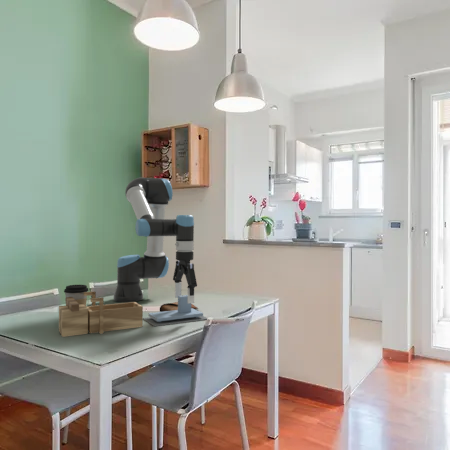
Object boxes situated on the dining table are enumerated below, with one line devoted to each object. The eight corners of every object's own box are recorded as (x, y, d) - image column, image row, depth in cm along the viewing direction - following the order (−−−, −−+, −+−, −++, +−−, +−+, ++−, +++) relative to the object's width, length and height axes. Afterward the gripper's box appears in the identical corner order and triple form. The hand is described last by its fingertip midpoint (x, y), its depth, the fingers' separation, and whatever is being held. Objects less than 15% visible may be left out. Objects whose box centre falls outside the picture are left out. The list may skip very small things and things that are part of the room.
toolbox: (57, 328, 152) (58, 294, 152) (133, 319, 167) (133, 288, 166) (63, 338, 139) (63, 301, 139) (144, 328, 153) (144, 294, 153)
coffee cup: (67, 320, 165) (68, 284, 165) (91, 319, 166) (91, 284, 166) (60, 326, 155) (60, 288, 155) (85, 325, 156) (85, 288, 156)
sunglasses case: (172, 314, 172) (167, 300, 174) (163, 321, 176) (157, 307, 178) (200, 308, 186) (194, 295, 188) (190, 314, 190) (185, 301, 192)
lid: (148, 318, 167) (148, 296, 167) (192, 313, 178) (192, 292, 177) (157, 324, 158) (157, 301, 158) (203, 318, 168) (203, 296, 168)
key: (65, 303, 154) (65, 297, 154) (72, 302, 155) (72, 296, 155) (71, 311, 140) (71, 305, 140) (79, 311, 141) (79, 304, 141)
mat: (143, 318, 168) (143, 317, 168) (194, 312, 180) (194, 312, 180) (153, 326, 156) (153, 325, 156) (208, 319, 168) (208, 318, 168)
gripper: (166, 249, 179) (165, 295, 179) (188, 253, 157) (188, 306, 157) (181, 248, 182) (180, 294, 183) (205, 252, 160) (204, 304, 161)
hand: (184, 300), depth 170 cm, fingers open, 13 cm apart
